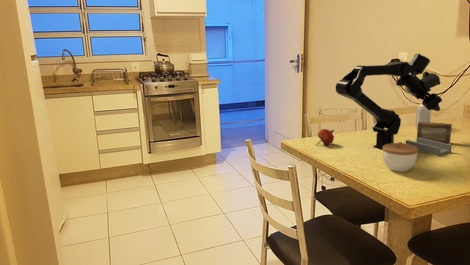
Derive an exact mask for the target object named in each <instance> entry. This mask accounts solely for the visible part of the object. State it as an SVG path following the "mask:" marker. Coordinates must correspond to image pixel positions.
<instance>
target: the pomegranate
mask: <svg viewBox="0 0 470 265" xmlns="http://www.w3.org/2000/svg"><path fill="white" fill-rule="evenodd" d="M333 132H335V129H332V130H330V129H326V128H322V129H320V130H319V131H318V133H317V137H318V138H319V139H320V140H319V141H318V142H317V143H316V144H315V146H318V145H319V144H320V143H321V142H322V144H325V145H326V146H330V145H331V144H333V142H334V139H335V138H334V137H335V136H334V134H333Z"/></svg>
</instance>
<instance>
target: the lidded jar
mask: <svg viewBox="0 0 470 265" xmlns="http://www.w3.org/2000/svg"><path fill="white" fill-rule="evenodd" d="M418 152H419V151H418V148H417V147H416V146H414V145H410V144H406V142H404V143H403V142H394V143H390V144H386V145H384V146H383V149H382V157H383V161H384V163H385V165H386V166H387V167H388V168H389V170H390V171H393V172H399V173H404V172H408V171H409V170H410V169H411V168H413V167H414V165H415V164H416V162H417V159H418Z"/></svg>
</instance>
